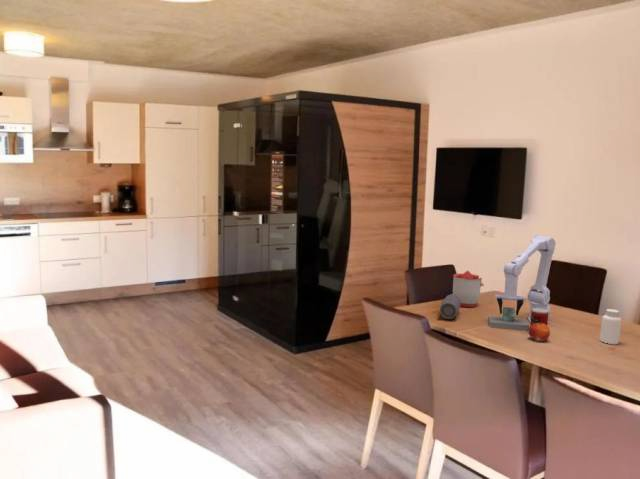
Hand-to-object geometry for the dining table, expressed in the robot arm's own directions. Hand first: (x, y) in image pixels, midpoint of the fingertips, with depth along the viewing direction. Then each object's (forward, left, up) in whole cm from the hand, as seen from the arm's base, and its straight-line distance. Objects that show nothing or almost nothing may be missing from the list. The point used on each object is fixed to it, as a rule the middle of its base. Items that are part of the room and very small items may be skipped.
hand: (508, 314), depth 280 cm
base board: (0, 0, -6) cm, 6 cm away
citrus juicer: (+18, -37, -6) cm, 42 cm away
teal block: (0, 0, -3) cm, 3 cm away
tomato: (-11, +21, -6) cm, 24 cm away
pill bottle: (-43, +14, -6) cm, 46 cm away
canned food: (-13, +8, -6) cm, 16 cm away
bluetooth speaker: (+28, -9, -6) cm, 30 cm away
